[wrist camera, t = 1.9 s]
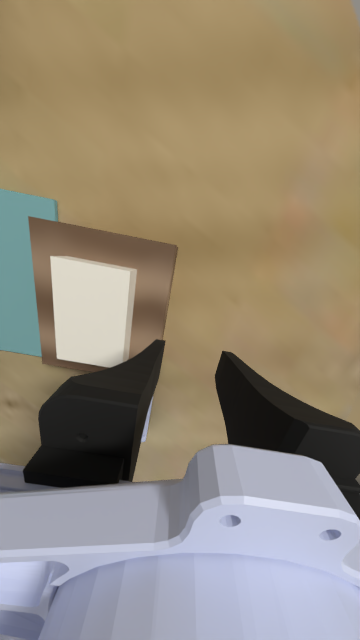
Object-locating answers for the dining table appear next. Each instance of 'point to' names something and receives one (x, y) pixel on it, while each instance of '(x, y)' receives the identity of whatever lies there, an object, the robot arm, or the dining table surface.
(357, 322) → the dining table surface
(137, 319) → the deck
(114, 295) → the tile
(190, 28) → the dining table surface
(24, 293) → the mat
